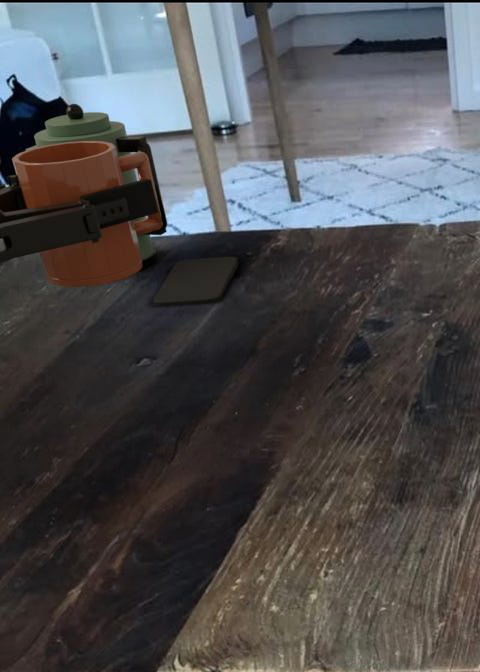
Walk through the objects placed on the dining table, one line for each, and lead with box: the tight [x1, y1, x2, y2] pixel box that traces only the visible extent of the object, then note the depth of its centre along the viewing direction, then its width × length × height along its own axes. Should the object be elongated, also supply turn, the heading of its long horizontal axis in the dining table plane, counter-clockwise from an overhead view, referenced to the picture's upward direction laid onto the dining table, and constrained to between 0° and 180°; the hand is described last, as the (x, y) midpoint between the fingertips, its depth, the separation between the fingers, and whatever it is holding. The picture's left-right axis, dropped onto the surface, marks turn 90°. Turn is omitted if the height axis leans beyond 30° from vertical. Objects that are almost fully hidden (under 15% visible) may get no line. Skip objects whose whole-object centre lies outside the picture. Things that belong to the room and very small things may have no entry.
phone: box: [152, 256, 239, 307], centre depth 126 cm, size 7×1×15 cm
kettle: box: [25, 103, 168, 272], centre depth 129 cm, size 16×14×18 cm
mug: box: [11, 141, 163, 288], centre depth 99 cm, size 12×8×10 cm
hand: (122, 189), depth 100 cm, fingers closed on mug, 8 cm apart
